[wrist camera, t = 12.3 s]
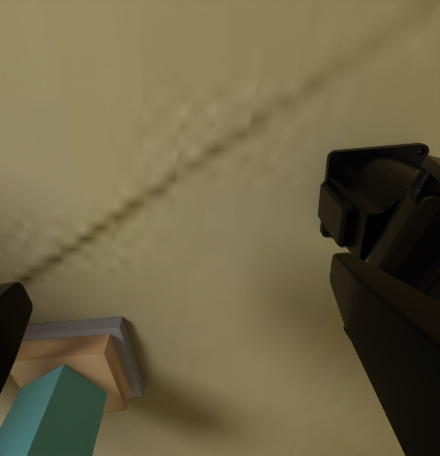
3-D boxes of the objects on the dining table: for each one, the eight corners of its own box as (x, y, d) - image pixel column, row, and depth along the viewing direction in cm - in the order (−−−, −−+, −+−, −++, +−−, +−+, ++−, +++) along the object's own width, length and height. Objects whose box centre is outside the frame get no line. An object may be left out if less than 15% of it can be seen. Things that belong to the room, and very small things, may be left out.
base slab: (124, 309, 28) (119, 327, 26) (146, 378, 33) (142, 397, 32) (12, 319, 28) (0, 337, 26) (51, 387, 33) (43, 405, 32)
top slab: (110, 333, 27) (103, 353, 25) (130, 389, 31) (126, 410, 29) (16, 341, 27) (3, 362, 25) (48, 396, 31) (39, 418, 29)
